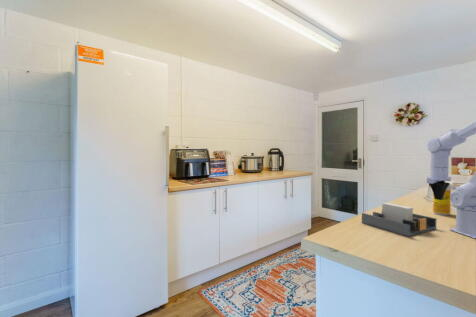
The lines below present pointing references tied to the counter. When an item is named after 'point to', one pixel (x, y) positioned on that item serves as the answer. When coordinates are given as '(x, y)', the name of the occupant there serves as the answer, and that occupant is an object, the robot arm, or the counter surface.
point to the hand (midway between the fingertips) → (438, 199)
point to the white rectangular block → (397, 212)
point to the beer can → (442, 203)
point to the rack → (401, 224)
